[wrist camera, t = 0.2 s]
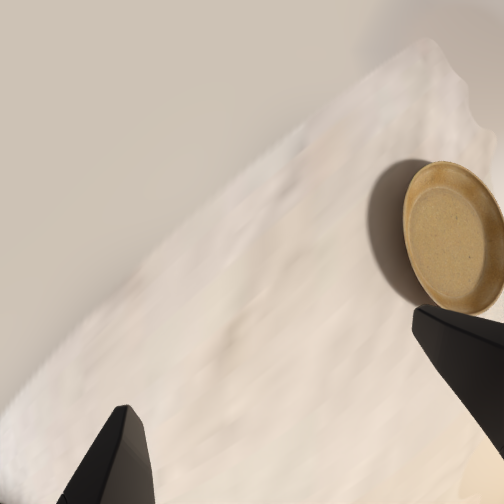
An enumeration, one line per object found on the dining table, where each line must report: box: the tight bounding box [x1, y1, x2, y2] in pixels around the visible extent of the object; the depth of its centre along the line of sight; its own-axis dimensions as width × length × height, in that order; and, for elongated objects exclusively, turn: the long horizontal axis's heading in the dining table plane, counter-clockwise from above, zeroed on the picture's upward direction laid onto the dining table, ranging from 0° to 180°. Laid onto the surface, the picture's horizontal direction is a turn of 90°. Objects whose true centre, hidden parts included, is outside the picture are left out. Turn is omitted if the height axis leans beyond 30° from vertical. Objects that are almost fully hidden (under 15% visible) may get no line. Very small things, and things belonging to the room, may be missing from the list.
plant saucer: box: [403, 161, 504, 316], centre depth 25 cm, size 15×15×3 cm
